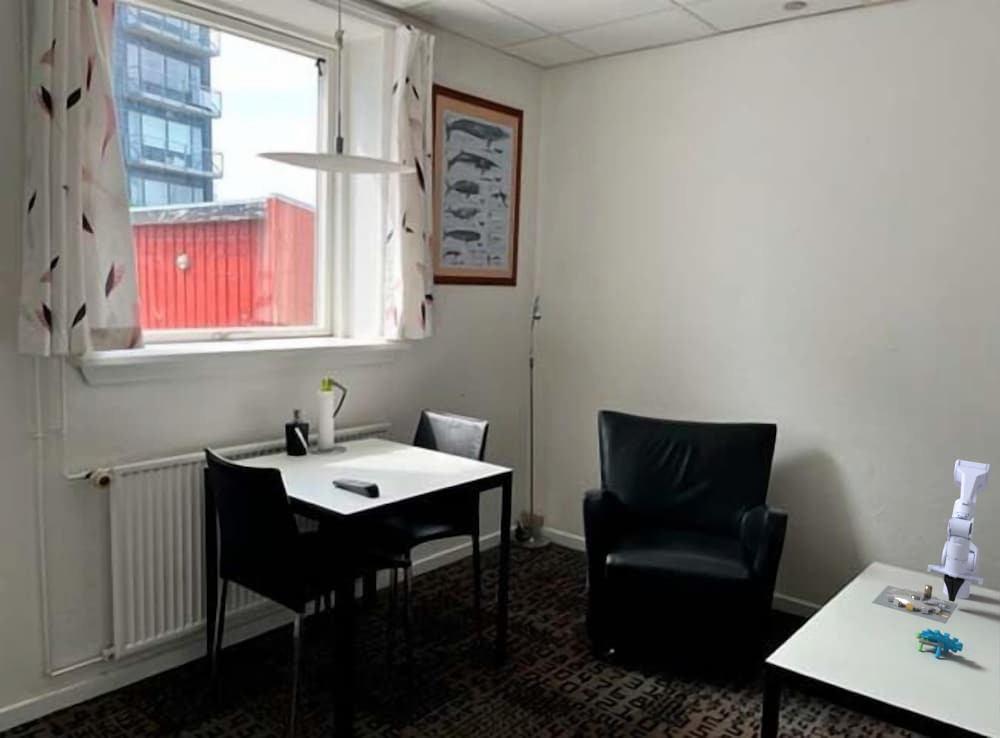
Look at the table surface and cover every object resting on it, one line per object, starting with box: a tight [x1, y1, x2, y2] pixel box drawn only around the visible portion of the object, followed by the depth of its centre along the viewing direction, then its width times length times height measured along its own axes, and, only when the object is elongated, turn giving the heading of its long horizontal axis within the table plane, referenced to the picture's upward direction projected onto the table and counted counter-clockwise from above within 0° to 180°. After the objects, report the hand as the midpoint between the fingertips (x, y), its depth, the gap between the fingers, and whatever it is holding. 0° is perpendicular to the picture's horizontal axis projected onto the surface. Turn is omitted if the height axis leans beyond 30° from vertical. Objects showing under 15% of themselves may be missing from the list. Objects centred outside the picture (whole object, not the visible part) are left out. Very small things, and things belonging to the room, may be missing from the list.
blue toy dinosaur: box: [915, 628, 964, 659], centre depth 205 cm, size 11×6×10 cm
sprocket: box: [886, 584, 946, 614], centre depth 237 cm, size 16×16×5 cm
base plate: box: [871, 585, 959, 624], centre depth 238 cm, size 20×20×1 cm
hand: (951, 600), depth 235 cm, fingers closed
